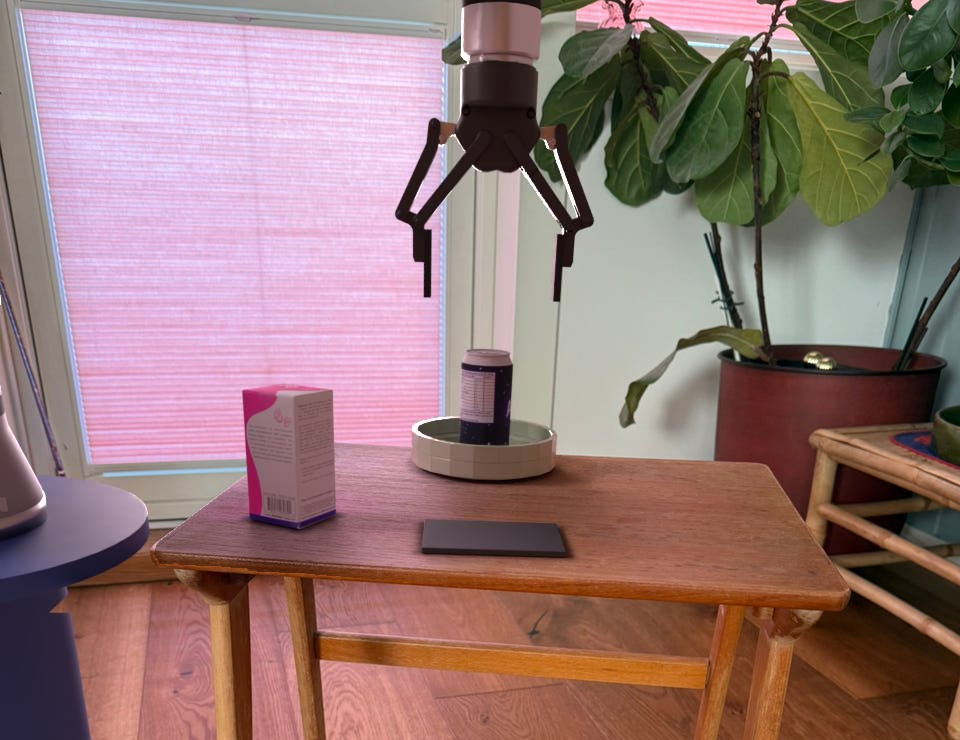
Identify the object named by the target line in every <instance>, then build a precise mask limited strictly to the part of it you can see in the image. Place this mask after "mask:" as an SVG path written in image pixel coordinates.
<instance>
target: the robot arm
mask: <svg viewBox="0 0 960 740" xmlns="http://www.w3.org/2000/svg"><path fill="white" fill-rule="evenodd" d="M541 31H542V0H461V36H460V37H461V39H460V40H461V43H460V56H461V57H462V58H463V60H465V61H466V64H464V65H463V66H462V68H461V69H460V87H459V88H460V90H459V91H460V92H459V95H460V96H459V97H460V98H459V101H460V102H459V117H458V120H457V122H456V123H455V122H453V123H452V122H448V121H441V120H440V119H439V118H437V117H432V118H430V119H429V121H428V124H427V133H426V143H425V145H424V147H423V149H422V152H421V154H420V156H419V159H418V160H417V162H416V165H415V167H414V169H413V171H412V173H411V176H410V178H409V180H408V181H407V182H408V183H407V185H406V187H405V189H404V190H403V194H402V195H401V198H400V200H399V202H398V204H397V207H396V209H395V211H394V217H395V219H396V220H397V221H400V222H401V223H405V224H407V225H409V226H410V228H411V230H412V258H413V262H414V263H423V298H427V299H431V297H432V269H433V268H432V267H433V265H432V263H433V260H432V259H433V258H432V257H433V254H432V253H433V246H432V245H433V229H432V228H431V229H430V228H426V224H427V223H428V221H429V220H430V219H431V218H432V217H433V216H434V214H435V213H436V211H437V210H438V209H439V208H440V206H441V205H442V204H443V203H444V202H445V200H446V199H447V198H448V197H449V195H450V194H451V193H452V192H453V190H454V189H455V188H456V186H457V185H458V184H459V183H460V182H461V180H462V179H463V178H464V177H465V176H466V174H467V173H468V172H469V171H470V169H471V168H474V169H475V170H476V171H478V172H480V173H493V172H498V173H502V174H512V173H515V172H516V171H518V170H520V171H521V173H522V174H523V176H524V177H525V178H526V180H527V181H528V182H529V183H530V185H531V186H532V188H533V189H534V191H535V192H536V194H537V195H538V197H539V198H540V200H541V201H542V202H543V204H544V205H545V207H546V208H547V210H548V211H549V213H550V215H551V216H552V217H553V219H554V220H555V222H556V223H557V225H558V226H559V227H560V229H561V233H554V237H553V238H554V239H553V252H552V253H553V255H552V269H551V286H550V288H551V289H550V301H551V302H553V303H561V295H562V281H563V268H572V267H573V264H574V256H575V241H576V235H577V234H578V232H579V231H581V230H585V229H587V228H592V226H593V225H594V224H595V217H594V214H593V212H592V208H591V206H590V204H589V202H588V199H587V196H586V193H585V191H584V187H583V185H582V182H581V180H580V177H579V174H578V171H577V169H576V165H575V163H574V160H573V158H572V154H571V153H570V150H569V131H568V126H567V124H565V123H564V122H560V123H558V124H556V125H550V126H549V125H548V126H540V125H539V123H538V119H537V109H538V91H539V90H538V89H539V87H538V86H539V71H538V70H537V68H536V67H535V66H534V65H533V64H534V63H536V62H538V60H539V59H540V51H541ZM451 137H455V139H456V141H457V144H459V146H460V148H461V149H462V151H463V152H464V153H463V155H462V156H461V157H460V159H458V161H457V162H456V164H455V165H454V166H453V168H451V170H450V171H449V173H448V174H447V175H446V176H445V178H444V179H443V180H442V181H441V182H440V184H439V186H437V188H436V189H435V191H433V193H432V194H431V195H430V197H429V198H428V199H427V200H426V202H424V204H423V205H422V207H421V208H420V209H419V210H418V212H417V213H416V212H414V211H411V210H412V208H413V206H414V204H415V201H416V199H417V198H418V195H419V193H420V191H421V189H422V187H423V184H424V183H425V180H426V178H427V175H428V173H429V171H430V170H431V169H430V168H431V167H432V165H433V162H434V161H435V160H434V159H435V158H436V156H437V154H438V150H439V147H444V146H445V145H446V144H447V143H448V141H449V139H450V138H451ZM540 140H541V141H544V143H545V146H546V148H547V149H548V150H550V151H553V154H554V158H555V160H556V161H555V162H556V164H557V166H558V169H559V172H560V174H561V177H562V180H563V183H564V185H565V187H566V190H567V193H568V196H569V198H570V201H571V204H572V207H573V209H574V212H575V216H576V217H574V218H572V216H571V215H570V213H569V212H568V210H567V209H566V208H565V206H564V205H563V203H562V202H561V200H560V198H559V197H558V196H557V194H556V193H555V191H554V190H553V188H552V187H551V186H550V184H549V182H548V181H547V180H546V178H545V177H544V175H543V174H542V172H541V171H540V169H539V167H538V165H537V164H536V162H535V161H534V160H533V158H532V157H531V155H530V154H531V153H532V152H533V150H534V148H535V147H536V146H537V144H538V143H539V141H540ZM1 301H2V300H1V296H0V304H1V303H2V302H1ZM35 475H36V474H35V472H34V470H33V467H31V465H30V463H29V461H28V459H27V457H26V455H25V453H24V452H23V450H22V448H21V446H20V444H19V442H18V441H17V438H16V437H15V435H14V433H13V431H12V429H11V427H10V424H9V422H8V419H7V414H6V407H5V402H4V397H3V392H2V385H1V384H0V541H4V540H8V539H11V538H14V537H17V536H20V535H22V534H25V533H27V532H29V531H31V530H33V529H35V528H37V527H38V526H40V525H41V524H42V523H43V522H44V521H45V520H46V519H47V517H48V512H47V506H46V500H45V494H44V492H43V490H42V487H41V485H40V483H39V482H38V480H37V478H36V476H35Z"/></svg>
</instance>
